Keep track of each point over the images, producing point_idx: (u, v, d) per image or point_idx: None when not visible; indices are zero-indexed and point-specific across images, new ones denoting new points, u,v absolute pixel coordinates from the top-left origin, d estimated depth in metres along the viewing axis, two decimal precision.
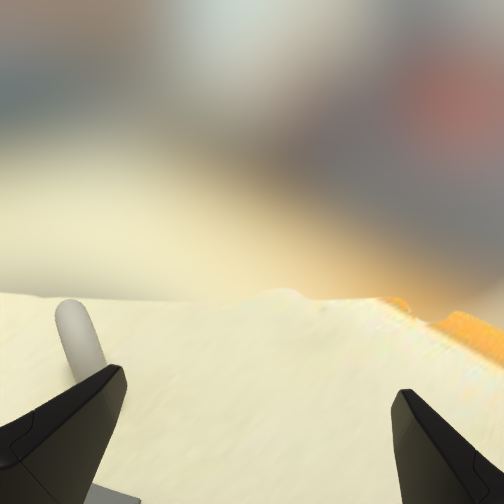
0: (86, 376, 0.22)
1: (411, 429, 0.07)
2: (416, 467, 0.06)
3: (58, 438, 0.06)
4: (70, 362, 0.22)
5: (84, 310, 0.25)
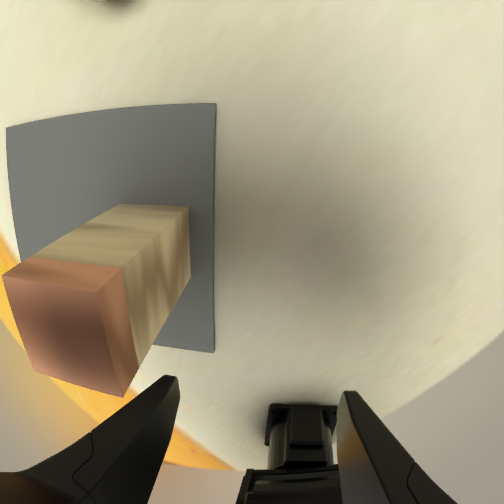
0: None
1: (349, 433, 0.07)
2: (352, 474, 0.07)
3: (122, 460, 0.06)
4: None
5: None
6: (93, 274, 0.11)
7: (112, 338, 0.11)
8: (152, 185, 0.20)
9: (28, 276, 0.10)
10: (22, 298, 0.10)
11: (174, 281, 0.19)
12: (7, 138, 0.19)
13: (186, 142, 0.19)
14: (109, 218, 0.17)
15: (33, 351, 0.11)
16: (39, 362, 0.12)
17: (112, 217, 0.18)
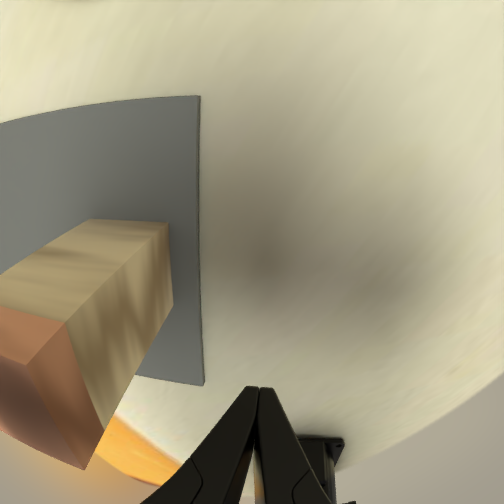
0: None
1: (256, 430, 0.08)
2: (256, 472, 0.07)
3: None
4: None
5: None
6: (28, 332, 0.07)
7: (60, 412, 0.07)
8: (125, 197, 0.16)
9: None
10: None
11: (150, 317, 0.15)
12: None
13: (163, 144, 0.15)
14: (71, 240, 0.14)
15: None
16: None
17: (75, 238, 0.14)
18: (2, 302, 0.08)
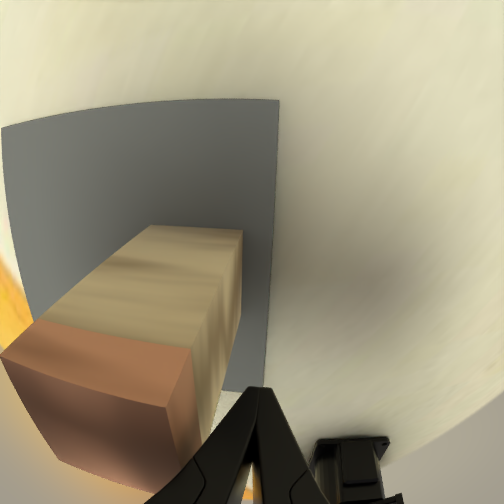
0: None
1: None
2: (254, 472, 0.07)
3: None
4: None
5: None
6: (148, 364, 0.07)
7: (183, 448, 0.07)
8: (194, 202, 0.16)
9: (40, 362, 0.06)
10: (34, 390, 0.06)
11: (231, 329, 0.15)
12: (3, 140, 0.16)
13: (241, 148, 0.15)
14: (142, 249, 0.14)
15: (57, 444, 0.07)
16: (67, 456, 0.08)
17: (146, 246, 0.14)
18: (89, 326, 0.08)
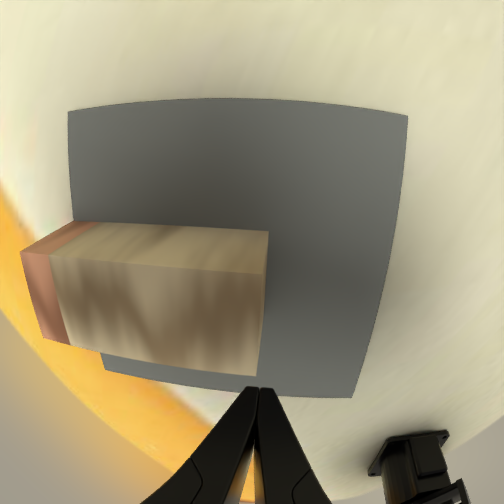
0: None
1: (256, 430, 0.08)
2: (256, 472, 0.07)
3: None
4: None
5: None
6: (45, 247, 0.13)
7: (35, 293, 0.13)
8: (321, 209, 0.16)
9: (64, 228, 0.16)
10: None
11: (177, 344, 0.13)
12: (70, 127, 0.15)
13: (373, 158, 0.14)
14: (196, 233, 0.16)
15: None
16: None
17: (201, 234, 0.15)
18: (85, 232, 0.15)
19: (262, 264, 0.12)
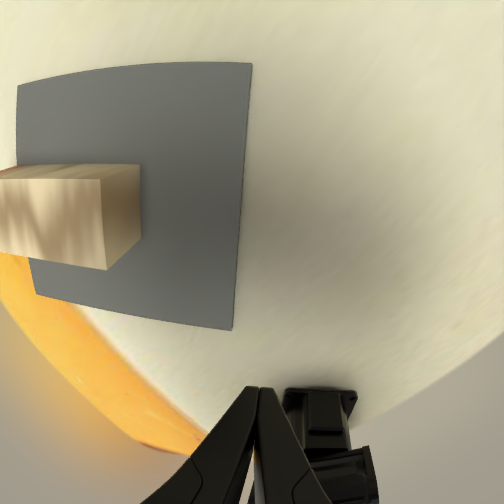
0: None
1: (256, 430, 0.08)
2: (256, 472, 0.07)
3: None
4: None
5: None
6: None
7: None
8: (178, 145, 0.18)
9: (7, 169, 0.18)
10: None
11: (56, 241, 0.16)
12: (18, 96, 0.17)
13: (219, 100, 0.17)
14: (86, 166, 0.18)
15: None
16: None
17: (89, 166, 0.18)
18: (18, 169, 0.18)
19: (107, 176, 0.15)
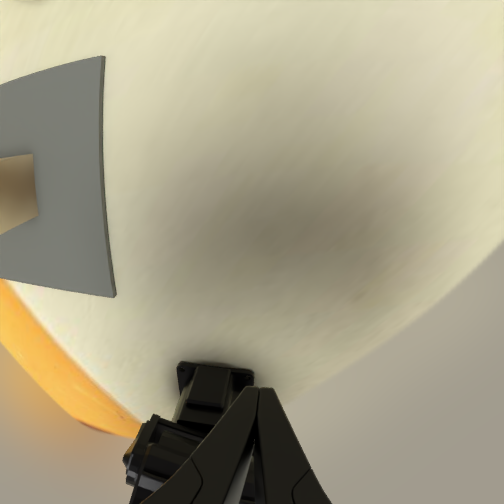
0: None
1: (256, 430, 0.08)
2: (256, 472, 0.07)
3: None
4: None
5: None
6: None
7: None
8: (55, 133, 0.19)
9: None
10: None
11: None
12: None
13: (80, 91, 0.18)
14: None
15: None
16: None
17: None
18: None
19: None
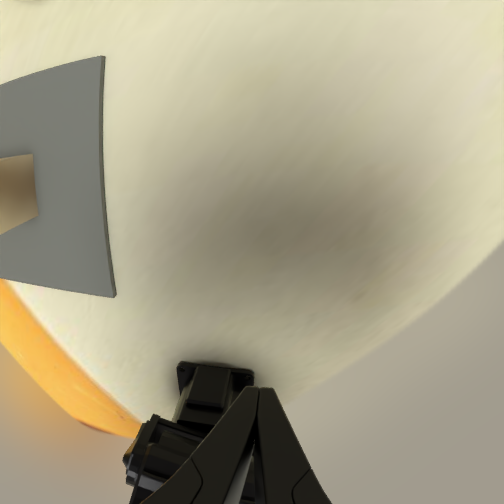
0: None
1: (256, 430, 0.08)
2: (256, 472, 0.07)
3: None
4: None
5: None
6: None
7: None
8: (55, 133, 0.19)
9: None
10: None
11: None
12: None
13: (79, 92, 0.18)
14: None
15: None
16: None
17: None
18: None
19: None
